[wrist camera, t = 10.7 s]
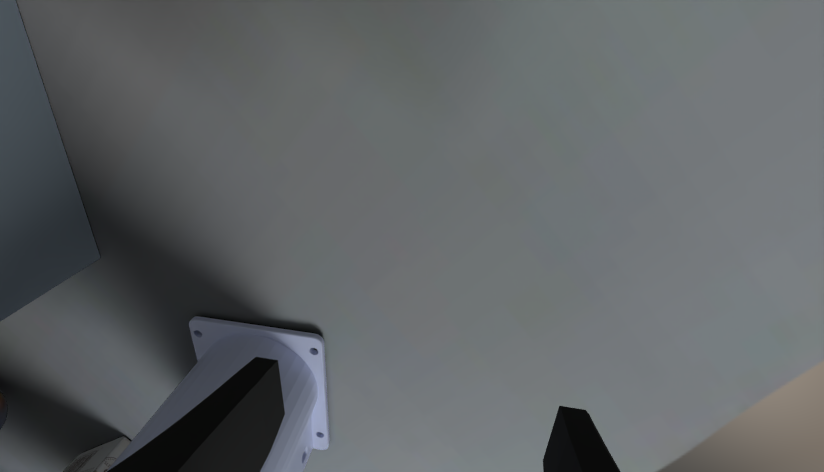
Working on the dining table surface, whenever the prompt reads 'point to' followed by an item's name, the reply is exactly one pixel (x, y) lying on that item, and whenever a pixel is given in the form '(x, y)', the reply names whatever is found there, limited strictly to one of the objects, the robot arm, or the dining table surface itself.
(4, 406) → the mug
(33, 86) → the grey block with hole
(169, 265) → the dining table surface
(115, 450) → the coffee box
